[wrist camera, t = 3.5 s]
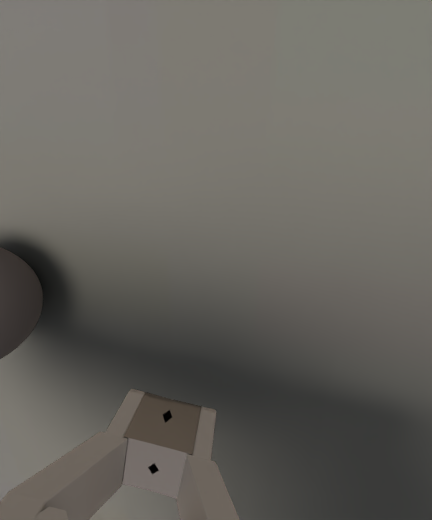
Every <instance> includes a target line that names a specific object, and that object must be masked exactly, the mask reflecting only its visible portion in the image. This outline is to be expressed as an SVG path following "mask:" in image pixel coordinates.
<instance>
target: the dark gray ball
mask: <svg viewBox="0 0 432 520" xmlns="http://www.w3.org/2000/svg"><path fill="white" fill-rule="evenodd" d="M42 306H43V293H42V288H41V284H40V282H39V279H38V277H37V276H36V274H35V272H34V271H33V270H32V268H31V267H30V266H29V265H28V264H27V263H26V262H25V261H23V260H22V259H21V258H19V257H18V256H17V255H15V254H13V253H12V252H10V251H8V250H5V249H3V248H1V247H0V359H1V358H3V357H5V356H6V355H8V354H9V353H10V352H12V351H13V350H14V349H16V348H17V347H18V346H19V345H20V344H21V343H22V342H23V341H24V340H25V339H26V338H27V337H28V336H29V335H30V333H31V332H32V330H33V329H34V327H35V326H36V324H37V322H38V320H39V317H40V314H41V310H42Z"/></svg>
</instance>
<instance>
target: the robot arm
mask: <svg viewBox="0 0 432 520" xmlns="http://www.w3.org/2000/svg"><path fill="white" fill-rule="evenodd" d="M215 421H216V410H214V409H210V408H206V407H201V406H199V405H194V404H190V403H186V402H182V401H178V400H172V399H168V398H165V397H161V396H158V395H154V394H151V393H147V392H143V391H139V390H136V389H131V390H130V391H129V392H128V393H127V395H126V397H125V399H124V400H123V402H122V404H121V406H120V407H119V409H118V411H117V413H116V414H115V416H114V418H113V419H112V421H111V423H110V425H109V426H108V428H107V430H106V432H99V433H97V434H96V435H94V436H93V437H91V438H90V439H88V440H87V441H85V442H84V443H82V444H81V445H79V446H78V447H76V448H74V449H73V450H71V451H70V452H68V453H67V454H65V455H64V456H62V457H61V458H59V459H58V460H56V461H55V462H53V463H52V464H50V465H49V466H47V467H46V468H44V469H43V470H41V471H39V472H38V473H36V474H35V475H33V476H32V477H30V478H29V479H27V480H26V481H24V482H23V483H21V484H20V485H18V486H17V487H15V488H14V489H12V490H11V491H9V492H8V493H7V494H6V496H5V497H4V498H3V499H2V501H1V502H0V520H89V519H90V518H91V517H92V516H93V515H94V514H95V513H96V512H97V511H98V510H99V509H100V507H101V506H102V505H103V504H104V503H105V502H106V501H107V500H108V499H109V498H110V497H111V496H112V495H113V494H114V493H115V492H116V491H117V490H118V489H119V488H120V487H121V484H124V485H128V486H133V487H137V488H141V489H146V490H150V491H153V492H156V493H159V494H163V495H166V496H169V497H172V498H176V499H177V500H176V501H177V506H178V511H179V516H180V520H239V517H238V515H237V512H236V510H235V507H234V505H233V503H232V500H231V498H230V495H229V493H228V490H227V488H226V486H225V483H224V481H223V478H222V476H221V474H220V471H219V469H218V466H217V464H216V462H215V461H211V455H212V447H213V438H214V429H215Z"/></svg>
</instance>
